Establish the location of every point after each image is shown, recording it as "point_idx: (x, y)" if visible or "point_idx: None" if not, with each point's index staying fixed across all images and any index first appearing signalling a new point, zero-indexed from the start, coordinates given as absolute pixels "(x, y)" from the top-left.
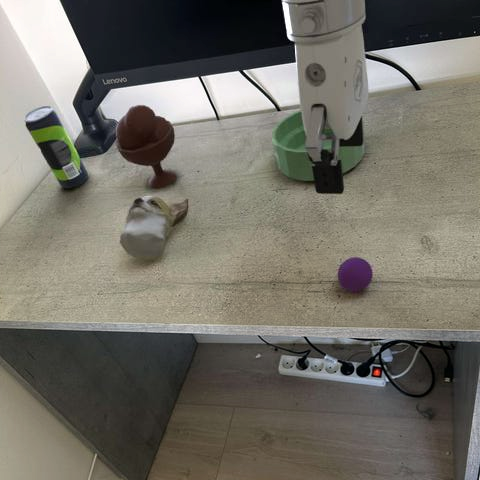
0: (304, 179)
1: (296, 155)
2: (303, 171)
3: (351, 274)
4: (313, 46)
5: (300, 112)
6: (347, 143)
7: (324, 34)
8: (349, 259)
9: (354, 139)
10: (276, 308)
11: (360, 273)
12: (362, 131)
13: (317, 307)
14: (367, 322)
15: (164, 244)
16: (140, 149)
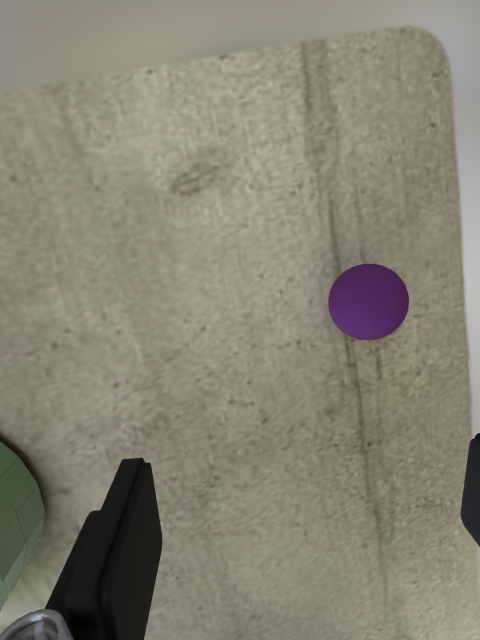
0: (42, 507)
1: (8, 574)
2: (30, 524)
3: (406, 305)
4: None
5: None
6: (154, 519)
7: None
8: (369, 324)
9: (147, 507)
10: (429, 417)
11: (400, 287)
12: (112, 500)
13: (419, 348)
14: (449, 243)
15: None
16: None
